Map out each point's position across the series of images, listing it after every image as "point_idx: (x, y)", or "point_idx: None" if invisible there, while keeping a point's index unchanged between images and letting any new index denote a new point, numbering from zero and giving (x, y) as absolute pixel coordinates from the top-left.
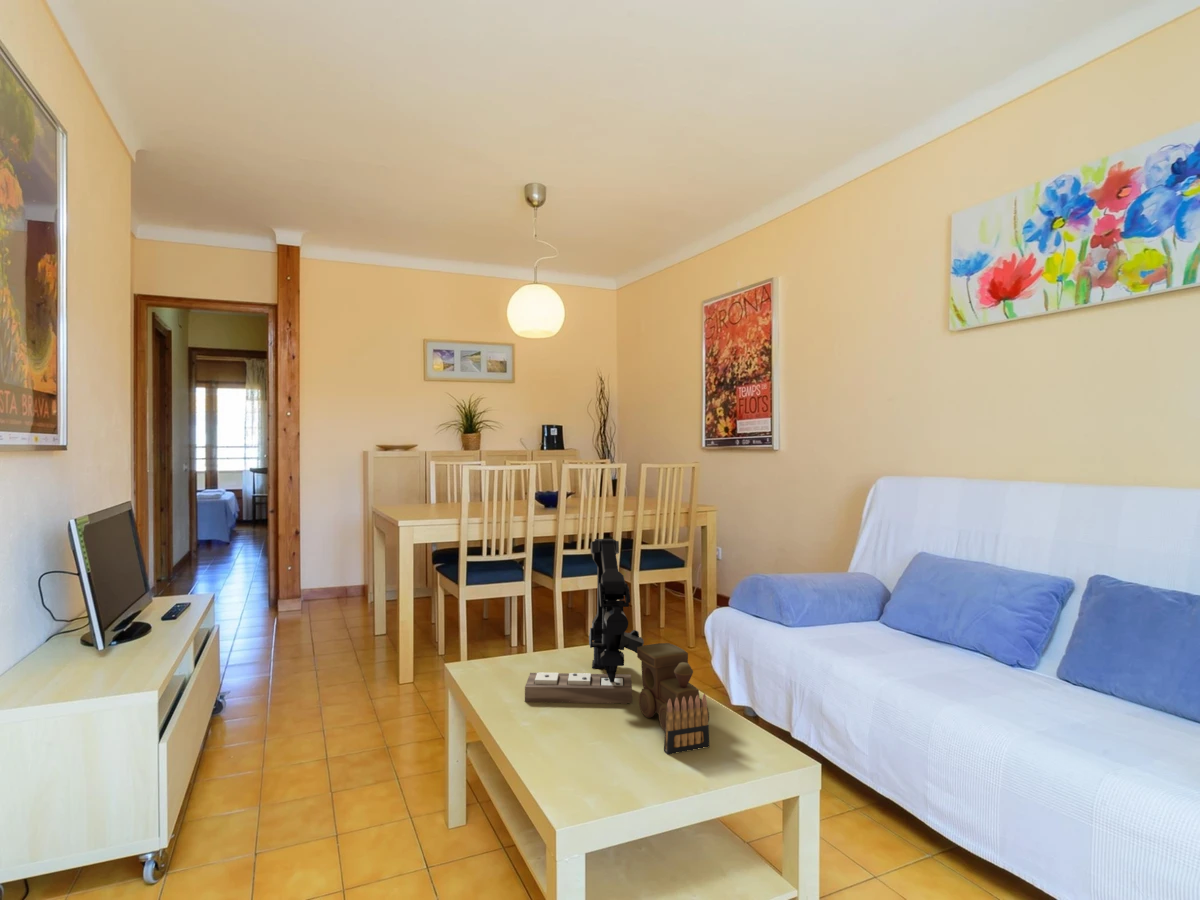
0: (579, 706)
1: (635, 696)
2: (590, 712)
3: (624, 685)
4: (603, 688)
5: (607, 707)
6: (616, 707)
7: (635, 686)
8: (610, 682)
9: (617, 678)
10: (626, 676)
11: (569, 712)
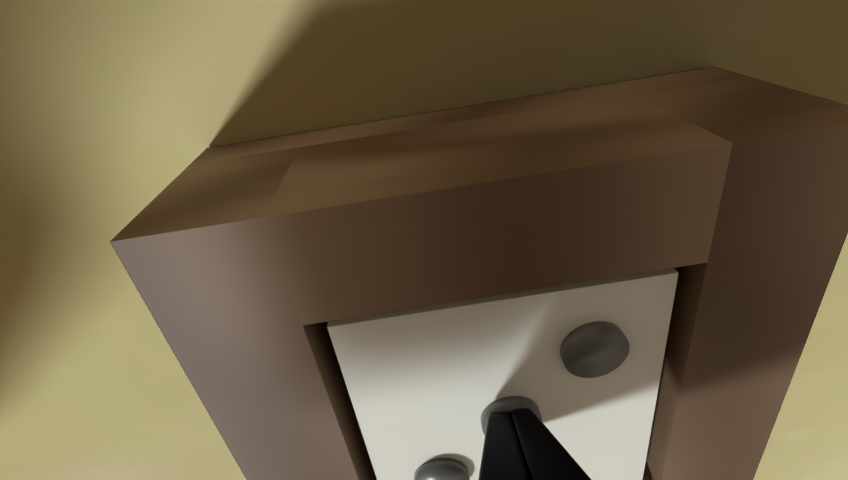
0: None
1: (460, 49)
2: (836, 376)
3: (699, 261)
4: (759, 452)
5: None
6: None
7: (89, 95)
8: None
9: (363, 386)
10: (254, 295)
11: (799, 471)
